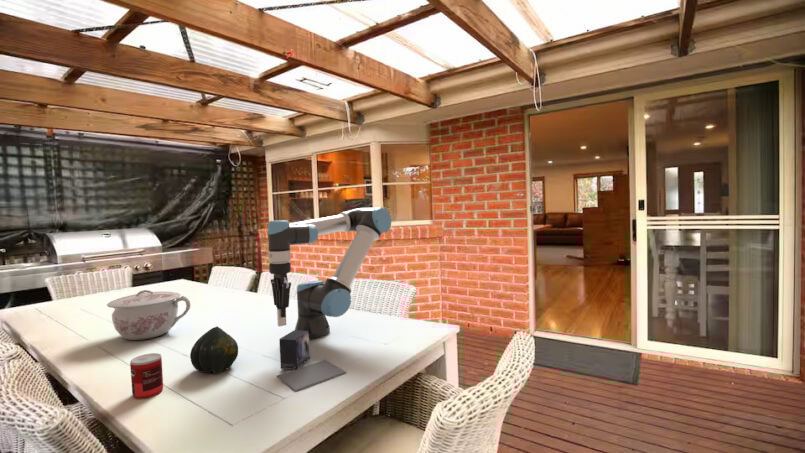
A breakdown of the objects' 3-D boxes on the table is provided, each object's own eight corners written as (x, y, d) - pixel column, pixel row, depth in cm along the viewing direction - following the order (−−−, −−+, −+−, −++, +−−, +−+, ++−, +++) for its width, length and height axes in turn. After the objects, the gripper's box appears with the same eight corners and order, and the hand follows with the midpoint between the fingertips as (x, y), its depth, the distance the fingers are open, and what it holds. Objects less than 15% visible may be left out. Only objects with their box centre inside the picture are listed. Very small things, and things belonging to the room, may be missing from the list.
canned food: (142, 388, 117) (139, 353, 116) (168, 386, 118) (166, 352, 117) (126, 400, 109) (123, 363, 109) (154, 398, 110) (152, 362, 109)
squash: (198, 368, 117) (225, 324, 125) (173, 361, 125) (200, 320, 133) (231, 384, 126) (254, 342, 134) (206, 376, 134) (229, 337, 142)
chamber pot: (94, 342, 161) (91, 295, 160) (157, 323, 186) (154, 282, 185) (137, 349, 150) (133, 299, 149) (197, 328, 176) (194, 285, 175)
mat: (276, 376, 122) (276, 375, 122) (325, 360, 134) (325, 359, 134) (295, 391, 112) (295, 390, 112) (346, 373, 123) (346, 371, 123)
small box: (297, 370, 125) (295, 339, 125) (279, 369, 127) (277, 339, 127) (311, 358, 136) (309, 329, 136) (294, 358, 137) (293, 329, 137)
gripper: (263, 261, 139) (265, 323, 140) (277, 265, 130) (279, 331, 131) (282, 259, 144) (284, 319, 145) (297, 262, 135) (299, 326, 136)
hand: (282, 325), depth 138 cm, fingers closed
